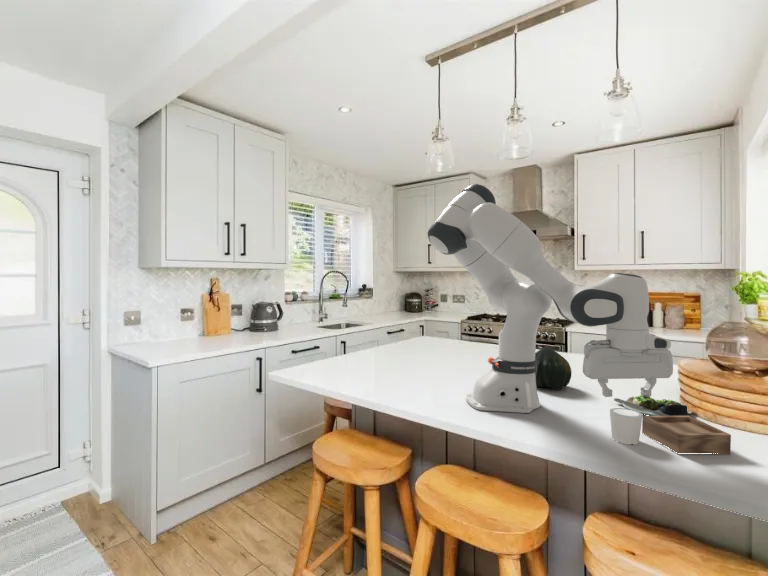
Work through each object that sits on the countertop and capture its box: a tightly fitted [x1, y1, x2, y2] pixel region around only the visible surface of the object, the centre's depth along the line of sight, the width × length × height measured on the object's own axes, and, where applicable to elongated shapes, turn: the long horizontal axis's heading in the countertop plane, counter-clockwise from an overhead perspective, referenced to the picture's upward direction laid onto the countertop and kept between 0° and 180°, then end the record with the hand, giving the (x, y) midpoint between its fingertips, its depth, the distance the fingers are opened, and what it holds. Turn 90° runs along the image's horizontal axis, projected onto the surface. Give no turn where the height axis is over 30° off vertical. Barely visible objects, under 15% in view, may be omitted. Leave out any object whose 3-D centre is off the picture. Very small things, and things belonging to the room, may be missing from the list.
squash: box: [535, 345, 572, 391], centre depth 142 cm, size 14×15×15 cm
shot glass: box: [609, 407, 643, 445], centre depth 96 cm, size 7×7×7 cm
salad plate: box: [613, 394, 693, 417], centre depth 118 cm, size 19×18×5 cm
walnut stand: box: [641, 415, 732, 455], centre depth 95 cm, size 12×12×4 cm
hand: (626, 396), depth 96 cm, fingers open, 8 cm apart
